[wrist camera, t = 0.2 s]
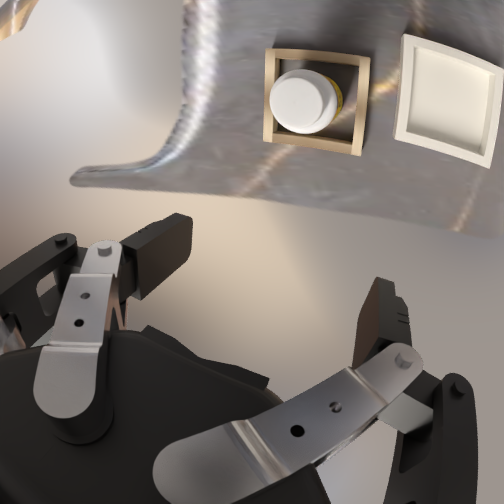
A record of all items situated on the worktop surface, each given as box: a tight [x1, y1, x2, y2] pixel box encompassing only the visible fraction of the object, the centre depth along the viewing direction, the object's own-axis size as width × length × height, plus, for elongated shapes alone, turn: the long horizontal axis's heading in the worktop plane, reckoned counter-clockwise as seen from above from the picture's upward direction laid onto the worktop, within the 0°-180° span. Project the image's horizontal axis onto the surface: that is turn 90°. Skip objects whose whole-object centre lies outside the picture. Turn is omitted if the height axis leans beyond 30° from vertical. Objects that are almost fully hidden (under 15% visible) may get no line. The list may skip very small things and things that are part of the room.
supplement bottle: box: [270, 69, 343, 134], centre depth 22 cm, size 6×6×10 cm
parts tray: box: [393, 34, 504, 168], centre depth 20 cm, size 11×11×2 cm
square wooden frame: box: [263, 49, 370, 156], centre depth 26 cm, size 10×10×2 cm
